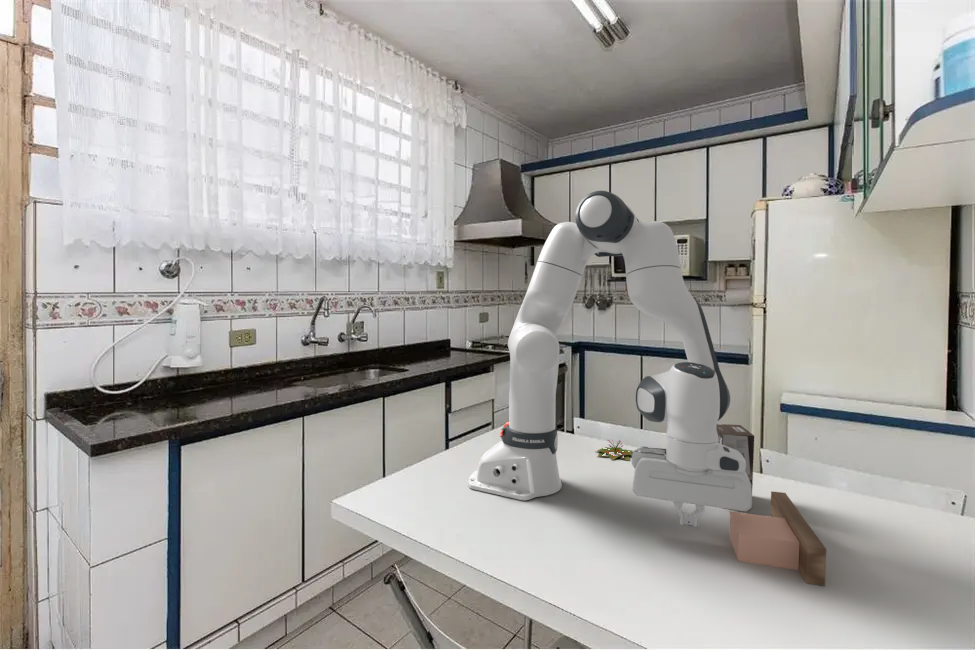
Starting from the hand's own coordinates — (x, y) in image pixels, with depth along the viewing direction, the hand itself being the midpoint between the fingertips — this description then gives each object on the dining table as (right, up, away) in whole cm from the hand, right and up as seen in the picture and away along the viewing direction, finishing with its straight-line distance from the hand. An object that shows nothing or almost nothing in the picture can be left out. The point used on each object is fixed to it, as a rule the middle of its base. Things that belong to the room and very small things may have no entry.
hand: (688, 524), depth 88 cm
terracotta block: (+12, -4, -4) cm, 13 cm away
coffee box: (+17, -2, +17) cm, 24 cm away
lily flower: (-1, -1, +48) cm, 48 cm away
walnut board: (+18, -3, -3) cm, 18 cm away
